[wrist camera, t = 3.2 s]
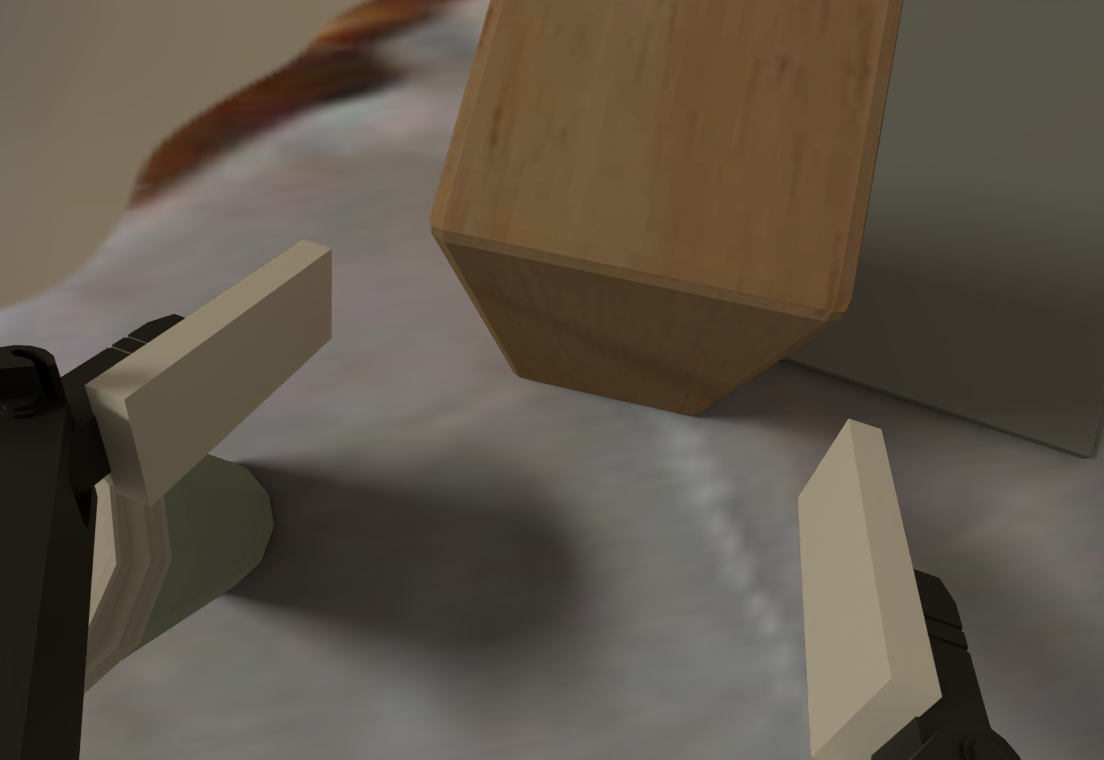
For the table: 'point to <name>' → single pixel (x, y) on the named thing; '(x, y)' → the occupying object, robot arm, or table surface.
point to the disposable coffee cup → (170, 556)
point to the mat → (986, 223)
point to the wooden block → (664, 185)
